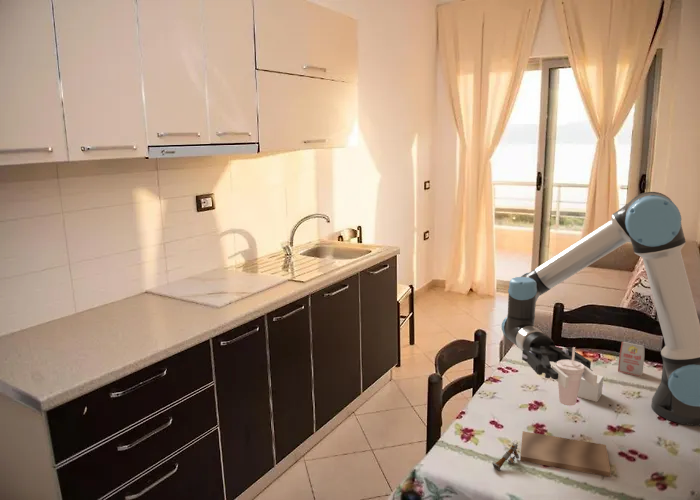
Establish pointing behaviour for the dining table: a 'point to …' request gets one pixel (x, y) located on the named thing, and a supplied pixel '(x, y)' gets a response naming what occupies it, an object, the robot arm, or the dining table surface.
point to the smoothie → (570, 379)
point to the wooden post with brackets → (506, 456)
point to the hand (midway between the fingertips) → (581, 381)
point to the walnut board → (565, 453)
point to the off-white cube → (590, 389)
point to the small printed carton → (631, 359)
